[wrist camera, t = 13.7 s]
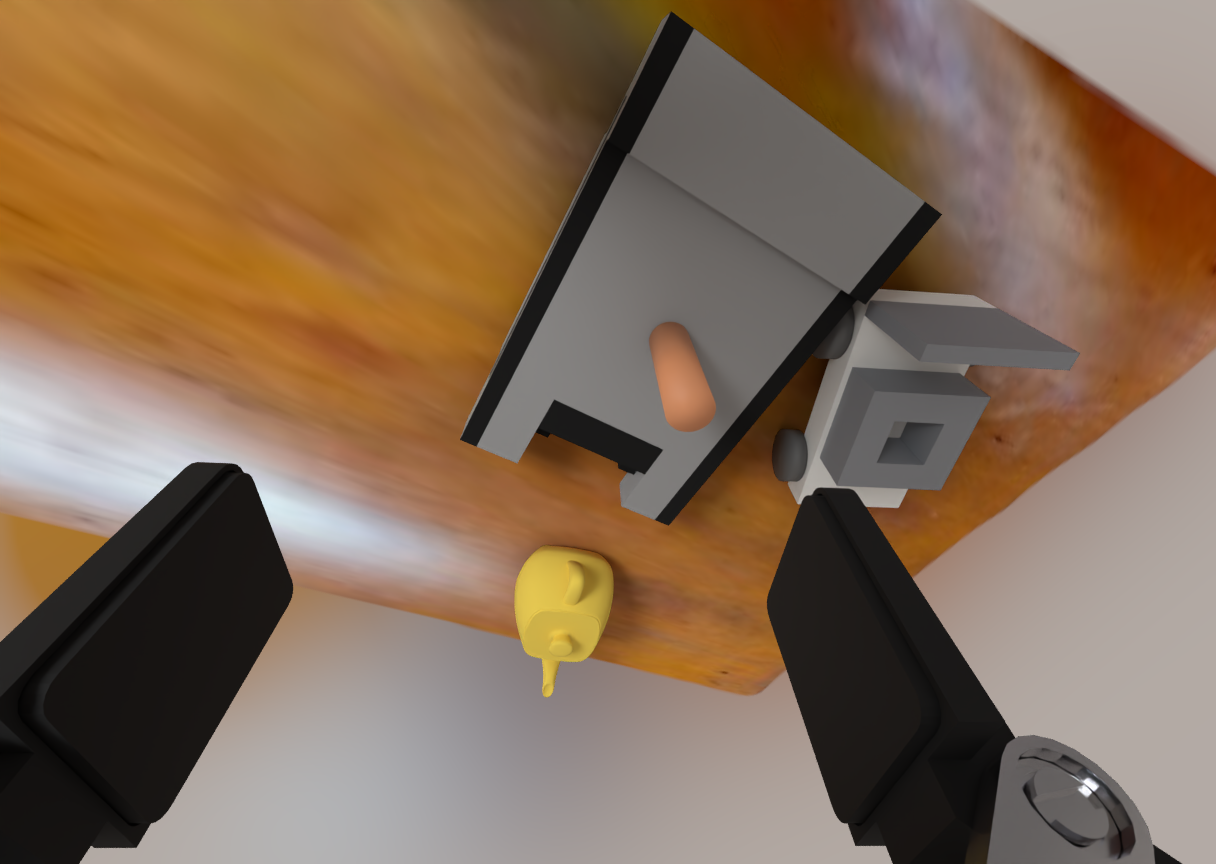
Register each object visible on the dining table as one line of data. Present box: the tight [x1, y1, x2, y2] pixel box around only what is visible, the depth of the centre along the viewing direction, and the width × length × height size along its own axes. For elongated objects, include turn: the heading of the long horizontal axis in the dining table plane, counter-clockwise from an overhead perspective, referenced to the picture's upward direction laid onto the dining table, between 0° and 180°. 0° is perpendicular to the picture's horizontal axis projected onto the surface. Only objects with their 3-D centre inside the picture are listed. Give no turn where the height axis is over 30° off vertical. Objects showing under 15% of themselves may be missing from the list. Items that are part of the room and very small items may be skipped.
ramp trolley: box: [772, 289, 1080, 508], centre depth 44 cm, size 20×13×14 cm, turn 176°
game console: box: [460, 12, 942, 526], centre depth 42 cm, size 21×32×8 cm, turn 151°
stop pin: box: [649, 322, 716, 432], centre depth 35 cm, size 3×3×10 cm
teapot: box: [515, 545, 614, 697], centre depth 58 cm, size 18×11×11 cm, turn 166°
